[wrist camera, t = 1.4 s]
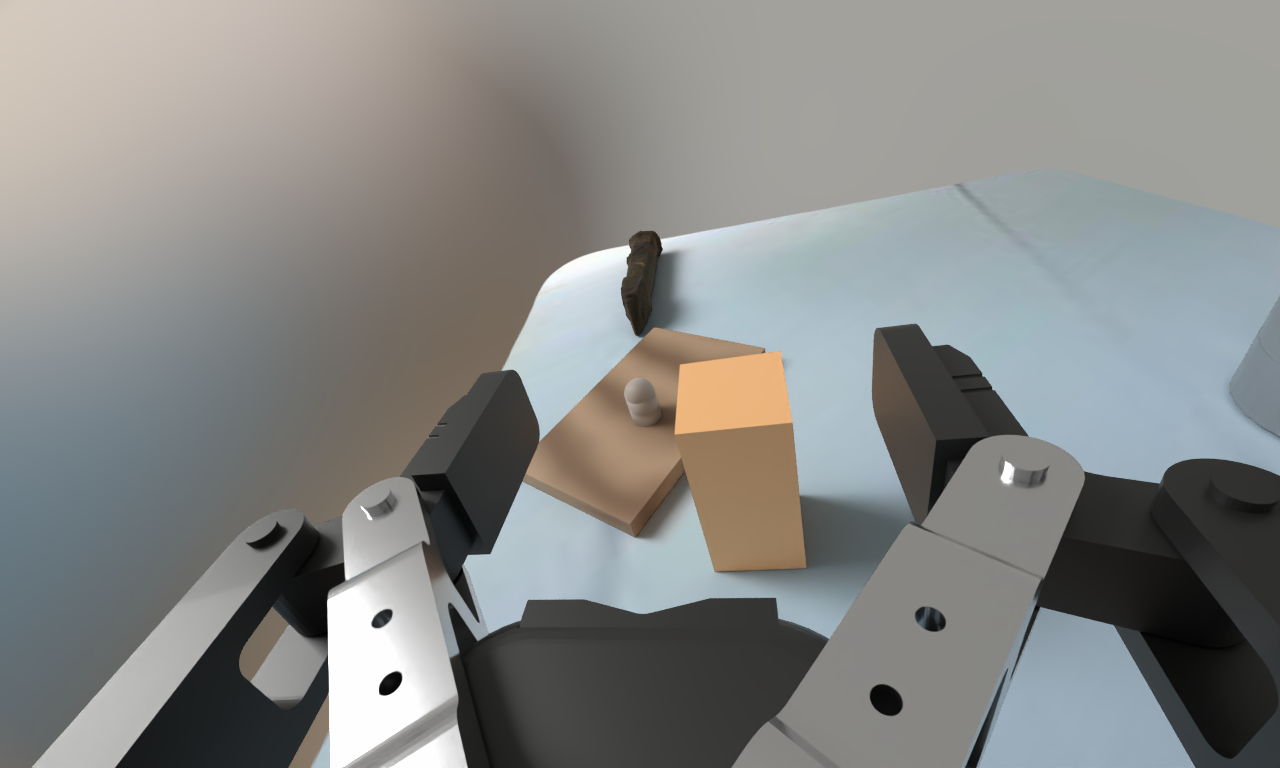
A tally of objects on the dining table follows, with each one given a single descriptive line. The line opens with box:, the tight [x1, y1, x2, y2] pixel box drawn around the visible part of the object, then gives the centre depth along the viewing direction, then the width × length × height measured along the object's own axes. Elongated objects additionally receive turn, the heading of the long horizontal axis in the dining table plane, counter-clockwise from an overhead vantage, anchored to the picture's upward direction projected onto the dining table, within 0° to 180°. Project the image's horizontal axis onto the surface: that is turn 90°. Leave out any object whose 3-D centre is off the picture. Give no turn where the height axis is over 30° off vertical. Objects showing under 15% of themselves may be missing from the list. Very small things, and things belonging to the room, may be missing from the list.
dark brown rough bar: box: [621, 231, 663, 335], centre depth 61 cm, size 19×4×5 cm, turn 173°
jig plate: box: [523, 327, 765, 537], centre depth 43 cm, size 20×12×5 cm, turn 144°
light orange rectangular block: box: [674, 351, 806, 572], centre depth 30 cm, size 5×5×12 cm
